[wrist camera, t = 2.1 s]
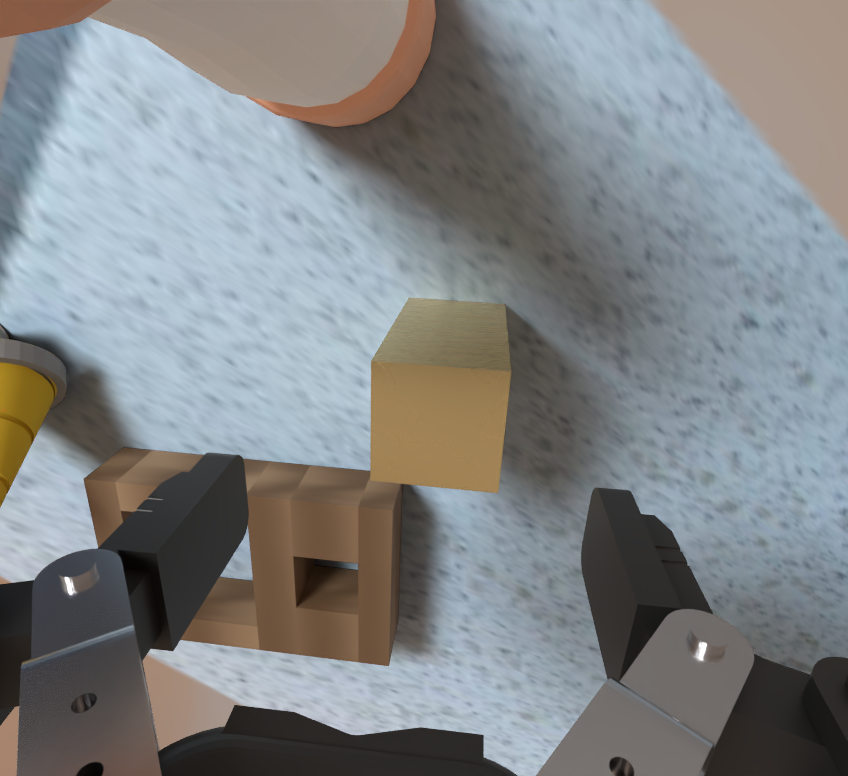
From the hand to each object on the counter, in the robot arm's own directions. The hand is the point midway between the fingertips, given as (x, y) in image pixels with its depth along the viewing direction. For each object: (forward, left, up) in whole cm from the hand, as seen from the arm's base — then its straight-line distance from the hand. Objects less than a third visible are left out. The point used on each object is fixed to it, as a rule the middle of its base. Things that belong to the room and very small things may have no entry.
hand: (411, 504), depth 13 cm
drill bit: (+19, +3, -12) cm, 23 cm away
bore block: (+9, +11, -12) cm, 19 cm away
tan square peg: (0, 0, -12) cm, 12 cm away
